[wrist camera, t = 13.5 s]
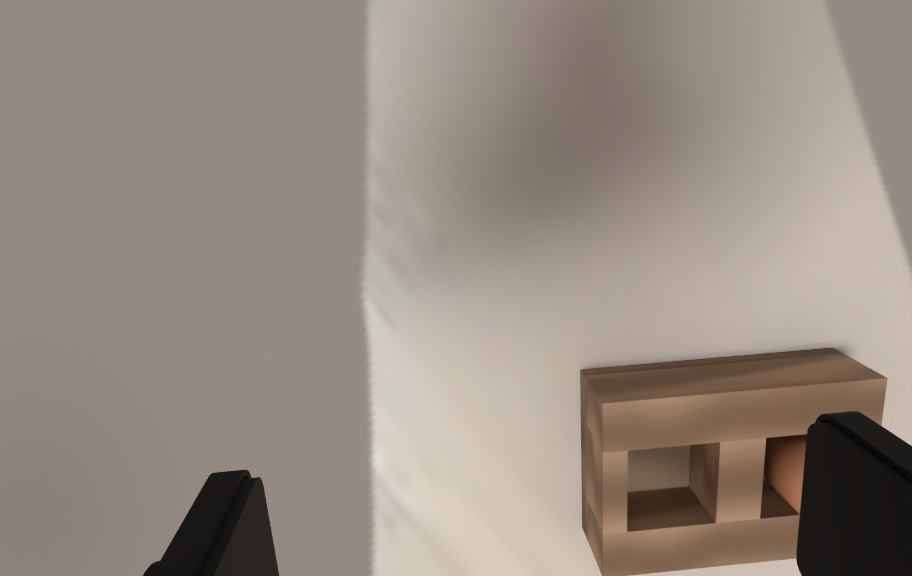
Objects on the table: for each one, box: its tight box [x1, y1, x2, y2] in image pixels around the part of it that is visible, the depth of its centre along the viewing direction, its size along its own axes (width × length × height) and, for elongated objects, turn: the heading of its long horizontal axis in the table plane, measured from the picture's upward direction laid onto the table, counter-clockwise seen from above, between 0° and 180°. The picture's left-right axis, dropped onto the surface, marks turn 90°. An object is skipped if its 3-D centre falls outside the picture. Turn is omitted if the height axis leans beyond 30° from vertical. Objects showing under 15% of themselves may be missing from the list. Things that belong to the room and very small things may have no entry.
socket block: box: [580, 348, 887, 576], centre depth 40 cm, size 12×17×5 cm
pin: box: [763, 434, 807, 514], centre depth 36 cm, size 4×4×12 cm
